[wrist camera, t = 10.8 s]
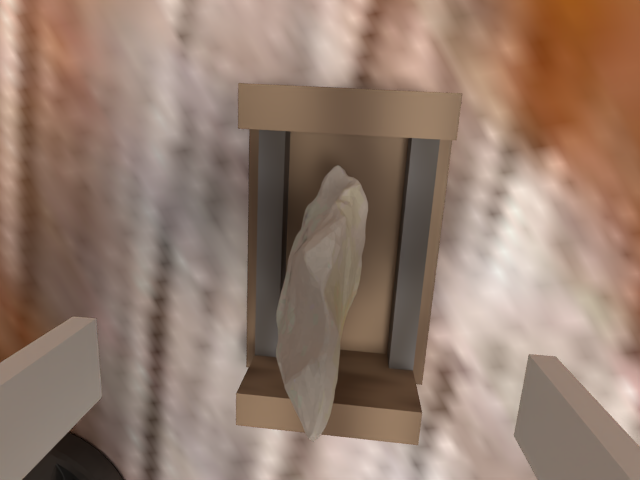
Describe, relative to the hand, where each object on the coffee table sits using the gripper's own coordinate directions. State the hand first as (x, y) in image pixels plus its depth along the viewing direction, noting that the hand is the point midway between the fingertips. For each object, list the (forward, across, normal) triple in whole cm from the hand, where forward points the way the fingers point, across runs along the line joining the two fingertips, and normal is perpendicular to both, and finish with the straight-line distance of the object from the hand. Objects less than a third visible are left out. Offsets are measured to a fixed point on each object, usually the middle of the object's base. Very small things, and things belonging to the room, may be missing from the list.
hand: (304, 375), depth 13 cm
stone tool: (+15, 0, 0) cm, 15 cm away
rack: (+16, +1, 0) cm, 16 cm away
